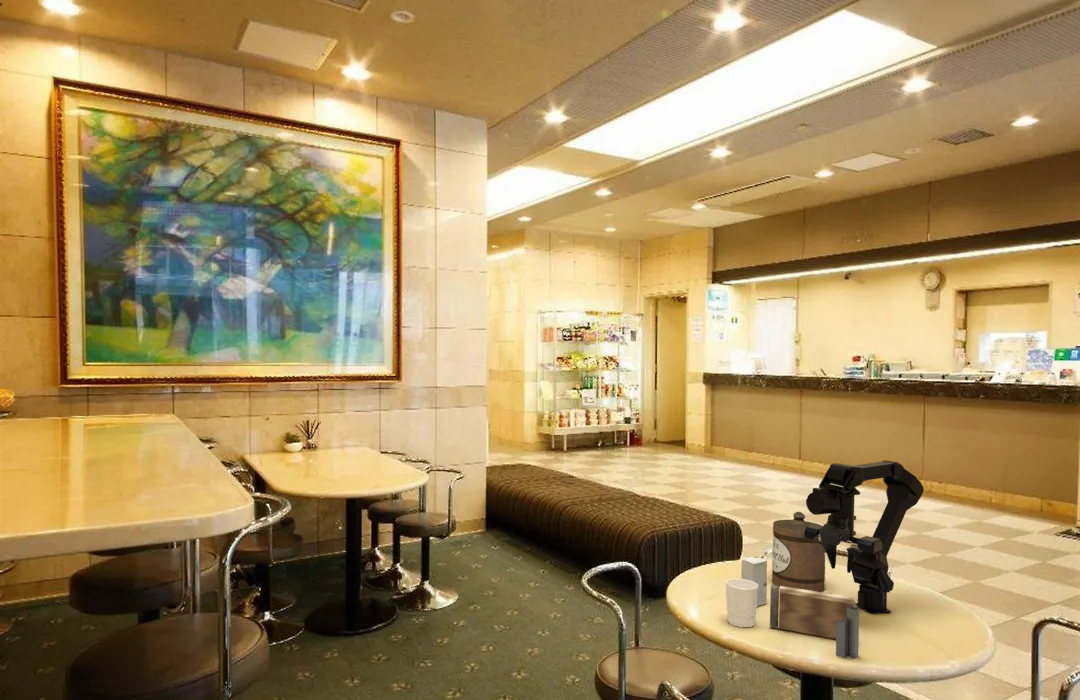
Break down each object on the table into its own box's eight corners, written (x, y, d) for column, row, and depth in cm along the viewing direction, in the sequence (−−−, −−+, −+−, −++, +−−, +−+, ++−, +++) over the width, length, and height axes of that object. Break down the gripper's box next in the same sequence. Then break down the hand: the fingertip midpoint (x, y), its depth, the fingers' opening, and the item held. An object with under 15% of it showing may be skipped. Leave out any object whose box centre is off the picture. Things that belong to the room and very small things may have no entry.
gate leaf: (769, 626, 166) (770, 586, 166) (770, 623, 167) (771, 584, 168) (854, 642, 158) (854, 600, 158) (853, 638, 160) (854, 597, 160)
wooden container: (768, 575, 207) (770, 505, 207) (818, 579, 204) (820, 508, 204) (775, 591, 193) (777, 516, 193) (829, 596, 190) (831, 520, 190)
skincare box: (753, 608, 179) (753, 563, 179) (739, 602, 183) (740, 559, 183) (767, 604, 182) (768, 560, 183) (754, 598, 186) (755, 555, 186)
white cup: (734, 614, 175) (735, 576, 175) (762, 623, 169) (763, 584, 169) (719, 622, 169) (720, 583, 169) (747, 631, 163) (748, 591, 164)
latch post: (835, 655, 151) (836, 607, 152) (843, 651, 154) (844, 603, 154) (851, 660, 149) (852, 612, 149) (858, 656, 151) (859, 608, 151)
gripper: (793, 509, 177) (792, 567, 177) (864, 523, 163) (863, 586, 163) (814, 503, 185) (812, 559, 185) (883, 517, 171) (882, 577, 170)
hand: (841, 570), depth 175 cm, fingers open, 4 cm apart
